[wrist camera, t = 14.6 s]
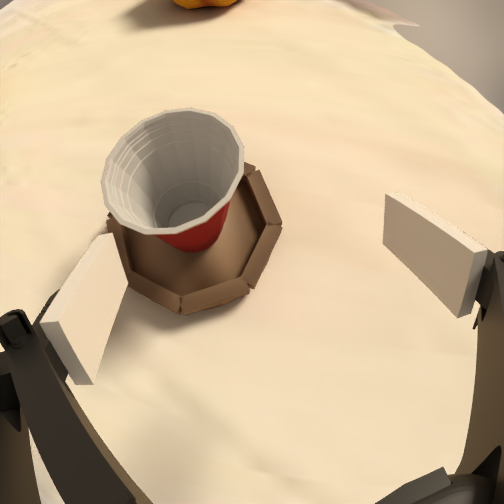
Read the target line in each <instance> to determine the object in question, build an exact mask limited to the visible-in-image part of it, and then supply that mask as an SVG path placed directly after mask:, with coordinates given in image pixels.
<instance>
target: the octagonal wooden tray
mask: <svg viewBox="0 0 504 504" xmlns="http://www.w3.org/2000/svg"><path fill="white" fill-rule="evenodd" d="M107 216H108V217H109V218H110V219H109V220H107V221H106V222H107V228H108V233H113V236H114V239H115V243H116V246H117V250H118V253H119V256H120V259H121V263H122V266H123V269H124V272H125V275H126V278H127V281H128V285H127V286H128V287H130V288H131V289H133V290H135V291H137V292H139V293H140V294H142V295H144V296H146V297H148V298H149V299H151V300H153V301H154V302H156V303H159V304H160V305H162V306H164V307H166V308H168V309H170V310H172V311H174V312H176V313H177V314H179V315H180V313H181V311H182V312H183V313H184V314H185V315H187V314H190V313H193V312H196V311H199V310H206V309H211V308H214V307H218V306H221V305H223V304H226V303H228V302H230V301H232V300H233V299H235V298H238V297H241V296H244V295H246V294H249V292H250V290H249V288H252V289H254V288H255V286H256V284H257V282H258V280H259V278H260V276H261V274H262V272H263V270H264V268H265V266H266V265H267V262H268V260H269V257H270V255H271V253H272V250H273V248H274V246H275V244H276V242H277V240H278V238H279V236H280V233H281V230H282V227H281V225H282V220H281V218H280V216H279V213H278V211H277V209H276V206H275V204H274V202H273V199H272V197H271V195H270V193H269V190H268V188H267V186H266V184H265V181H264V179H263V177H262V175H261V173H260V170H257V171H255V166H253V165H251V164H248V163H245V162H244V173H243V176H242V178H241V179H240V181H239V183H238V185H237V187H236V189H235V191H234V193H233V195H232V197H231V200H230V205H229V209H228V213H227V217H226V220H225V222H224V225H223V229H222V231H221V233H220V235H219V238H218V240H217V241H216V242H215V243H214V244H212V245H211V246H210V247H209V248H208V249H205V250H203V251H200V252H183V251H181V250H179V249H176V248H174V247H173V246H172V245H170V244H168V243H166V242H164V241H163V240H161V239H160V238H158V237H157V236H155V235H146V234H143V233H140V232H138V231H135V230H133V229H131V228H128V227H126V226H124V225H121V224H119V222H118V221H117V220H116V219H115V217H114V216H113V215H112V214H111V212H109V214H108V215H107Z"/></svg>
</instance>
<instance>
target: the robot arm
mask: <svg viewBox="0 0 504 504" xmlns="http://www.w3.org/2000/svg"><path fill="white" fill-rule="evenodd" d="M383 245H385V246H386V247H387V248H388V249H389V250H390V251H391V252H392V253H393V254H394V255H395V256H396V257H397V258H398V259H399V260H400V261H401V262H402V263H404V264H405V265H406V266H407V267H408V268H409V269H410V270H411V271H412V272H413V273H414V274H415V275H416V276H417V277H418V278H419V279H420V280H421V281H422V282H423V283H424V284H425V285H426V286H427V287H428V288H429V289H430V290H431V291H432V292H433V293H434V294H435V295H436V296H437V297H438V299H439V300H440V301H441V302H442V303H443V304H444V305H445V306H446V307H447V308H448V309H449V310H450V311H451V312H452V313H453V314H454V315H455V316H456V318H460V317H462V316H465V315H468V314H470V313H471V311H472V308H473V305H474V302H475V300H476V301H477V302H478V303H479V304H480V308H479V311H478V314H477V317H476V320H475V323H474V326H473V329H475V328H476V326H477V325H478V341H477V361H476V375H475V385H474V394H473V402H472V410H471V416H470V423H469V429H468V434H467V439H466V444H465V449H464V454H463V457H462V460H461V463H460V465H459V467H458V468H457V470H456V472H455V474H451V475H447V473H446V471H445V469H444V467H441V468H439V469H437V470H435V471H433V472H431V473H429V474H427V475H424V476H422V477H420V478H418V479H415V480H413V481H411V482H408V483H406V484H404V485H402V486H401V487H399V488H398V489H396V490H395V491H394V492H392V493H391V494H389V495H388V496H386V497H385V498H383V499H381V500H380V501H378V502H377V503H375V504H504V251H499V252H496V253H495V254H494V253H493V252H492V251H490V250H489V249H487V248H486V247H484V246H483V245H482V244H480V243H479V242H477V241H476V240H474V239H473V238H471V237H470V236H469V235H467V234H466V233H464V232H462V231H461V230H459V229H458V228H456V227H455V226H453V225H452V224H450V223H448V222H447V221H445V220H444V219H442V218H441V217H439V216H437V215H436V214H434V213H433V212H431V211H429V210H428V209H426V208H424V207H423V206H421V205H419V204H418V203H416V202H414V201H413V200H411V199H409V198H408V197H406V196H404V195H402V194H401V193H399V192H393V193H385V214H384V232H383ZM127 285H128V281H127V278H126V275H125V272H124V269H123V266H122V263H121V259H120V256H119V253H118V250H117V246H116V243H115V239H114V236H113V233H108V234H102V235H98V236H97V238H96V239H95V240H94V242H93V243H92V244H91V246H90V247H89V248H88V250H87V251H86V253H85V254H84V255H83V257H82V258H81V260H80V261H79V262H78V264H77V265H76V267H75V268H74V270H73V271H72V273H71V274H70V275H69V277H68V278H67V280H66V281H65V283H64V284H63V286H62V287H61V289H59V290H57V291H56V292H55V293H54V294H53V295H52V296H51V297H50V298H49V299H48V301H47V302H46V304H45V306H44V307H43V309H42V310H41V313H39V315H38V317H37V318H36V320H35V321H34V323H33V325H31V323H30V322H29V320H28V318H27V316H26V314H25V312H24V311H23V310H20V309H16V310H12V311H10V312H7V313H6V314H4V315H3V316H1V317H0V343H1V345H2V347H3V348H4V350H5V351H4V352H0V504H41V501H40V496H39V492H38V487H37V482H36V477H35V472H34V466H33V460H32V454H31V447H30V439H29V430H30V432H31V435H32V437H33V439H34V442H35V444H36V447H37V449H38V451H39V453H40V456H41V458H42V460H43V462H44V464H45V467H46V469H47V471H48V473H49V475H50V477H51V479H52V481H53V483H54V485H55V486H56V488H57V490H58V492H59V494H60V496H61V498H62V499H63V501H64V503H65V504H153V503H152V502H151V501H150V500H149V498H148V497H147V496H146V495H145V494H144V493H143V492H142V490H141V489H140V488H139V487H138V486H137V485H136V483H135V482H134V481H133V480H132V479H131V477H130V476H129V475H128V474H127V472H126V471H125V470H124V469H123V467H122V466H121V465H120V463H119V462H118V461H117V460H116V458H115V457H114V456H113V454H112V453H111V451H110V450H109V449H108V447H107V446H106V445H105V443H104V442H103V440H102V439H101V437H100V436H99V435H98V433H97V432H96V430H95V429H94V427H93V426H92V424H91V423H90V421H89V420H88V418H87V416H86V415H85V413H84V412H83V410H82V408H81V407H80V405H79V404H78V402H77V400H76V399H75V397H74V395H73V393H72V392H71V390H70V388H69V387H68V385H67V384H66V382H65V380H66V377H67V375H68V374H69V375H70V377H71V378H72V380H73V381H74V383H75V385H94V382H95V379H96V375H97V372H98V369H99V366H100V362H101V359H102V356H103V353H104V350H105V347H106V344H107V341H108V338H109V335H110V332H111V329H112V326H113V323H114V320H115V318H116V315H117V312H118V309H119V307H120V304H121V301H122V298H123V296H124V293H125V290H126V288H127ZM28 427H29V430H28Z"/></svg>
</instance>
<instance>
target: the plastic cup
mask: <svg viewBox="0 0 504 504" xmlns="http://www.w3.org/2000/svg"><path fill="white" fill-rule="evenodd" d="M243 173H244V145H243V143H242V142H241V140H240V138H239V136H238V134H237V132H236V130H235V128H234V126H232V125H231V124H230V123H228V122H227V121H225V120H224V119H223V118H221V117H220V116H218V115H217V114H216V113H212V112H208V111H204V110H199V109H195V108H184V109H174V110H166V111H163V112H161V113H158V114H156V115H154V116H151V117H149V118H147V119H144V120H142V121H140V122H139V123H138V124H137V125H135V126H134V127H133V128H132V129H130V130H129V131H128V132H127V133H126V134H124V135H123V136H122V137H121V138H120V139H119V141H118V142H117V144H116V145H115V147H114V148H113V150H112V151H111V153H110V154H109V156H108V157H107V159H106V163H105V167H104V171H103V175H102V179H101V186H102V192H103V198H104V203H105V206H106V207H107V208H108V210H109V211H110V212H111V214H112V215H113V216H114V217H115V219H116V220H117V221H118V222H119V224H121V225H124V226H126V227H128V228H131V229H133V230H135V231H138V232H140V233H143V234H146V235H155V236H157V237H158V238H160V239H161V240H163V241H164V242H166V243H168V244H170V245H172V246H173V247H174V248H176V249H179V250H181V251H183V252H200V251H203V250H205V249H208V248H209V247H210V246H211V245H212V244H214V243H215V242H216V241H217V240H218V238H219V235H220V233H221V231H222V229H223V225H224V222H225V220H226V217H227V213H228V209H229V205H230V200H231V197H232V195H233V193H234V191H235V189H236V187H237V185H238V183H239V181H240V179H241V178H242V176H243Z"/></svg>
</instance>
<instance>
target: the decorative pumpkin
mask: <svg viewBox="0 0 504 504" xmlns="http://www.w3.org/2000/svg"><path fill="white" fill-rule="evenodd" d="M173 1H174V2H175V3H176V4H178V5H180V6H182V7H185V8H187V9H191V8H199V7H204V6H229V5H230V4H232V3H234V2H235V1H237V0H173Z"/></svg>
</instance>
